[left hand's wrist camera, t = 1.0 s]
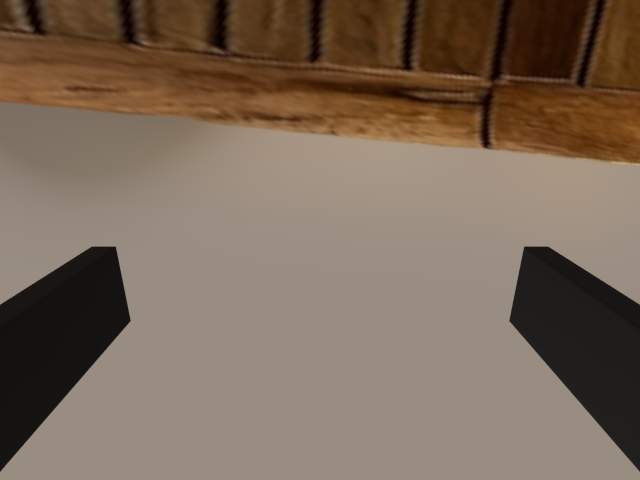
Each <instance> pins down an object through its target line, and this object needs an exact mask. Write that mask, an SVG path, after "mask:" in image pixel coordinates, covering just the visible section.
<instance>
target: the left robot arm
mask: <svg viewBox="0 0 640 480" xmlns="http://www.w3.org/2000/svg"><path fill="white" fill-rule="evenodd" d="M130 321H131V320H130V315H129V310H128V305H127V300H126V295H125V290H124V285H123V281H122V275H121V271H120V266H119V261H118V256H117V251H116V247H91V248H89V249H88V250H86V251H84V252H83V253H81V254H80V255H78V256H76V257H75V258H73V259H72V260H70V261H69V262H67V263H65V264H64V265H62V266H61V267H59V268H57V269H56V270H54V271H53V272H51V273H50V274H48V275H46V276H45V277H43V278H42V279H40V280H39V281H37V282H35V283H34V284H32V285H31V286H29V287H27V288H26V289H24V290H23V291H21V292H20V293H18V294H16V295H15V296H13V297H12V298H10V299H9V300H7V301H5V302H4V303H2V304H1V305H0V471H1V470H2V469H3V468H4V467H5V465H6V464H7V463H8V462H9V461H10V460H11V458H12V457H13V456H14V455H15V454H16V453H17V452H18V450H19V449H20V448H21V447H22V446H23V445H24V443H25V442H26V441H27V440H28V439H29V438H30V436H31V435H32V434H33V433H34V432H35V431H36V430H37V428H38V427H39V426H40V425H41V424H42V423H43V422H44V420H45V419H46V418H47V417H48V416H49V415H50V413H51V412H52V411H53V410H54V409H55V408H56V407H57V405H58V404H59V403H60V402H61V401H62V400H63V398H64V397H65V396H66V395H67V394H68V393H69V391H70V390H71V389H72V388H73V387H74V386H75V385H76V383H77V382H78V381H79V380H80V379H81V378H82V376H83V375H84V374H85V373H86V372H87V371H88V369H89V368H90V367H91V366H92V365H93V364H94V363H95V361H96V360H97V359H98V358H99V357H100V356H101V355H102V353H103V352H104V351H105V350H106V349H107V348H108V346H109V345H110V344H111V343H112V342H113V341H114V339H115V338H116V337H117V336H118V335H119V334H120V333H121V331H122V330H123V329H124V328H125V327H126V326H127V324H128V323H129V322H130ZM509 321H510V322H511V323H512V324H513V326H514V327H515V328H516V329H517V330H518V331H519V333H520V334H521V335H522V336H523V337H524V338H525V339H526V341H527V342H528V343H529V344H530V345H531V346H532V348H533V349H534V350H535V351H536V352H537V353H538V354H539V356H540V357H541V358H542V359H543V360H544V361H545V363H546V364H547V365H548V366H549V367H550V368H551V370H552V371H553V372H554V373H555V374H556V375H557V376H558V378H559V379H560V380H561V381H562V382H563V383H564V384H565V386H566V387H567V388H568V389H569V390H570V391H571V393H572V394H573V395H574V396H575V397H576V398H577V400H578V401H579V402H580V403H581V404H582V405H583V406H584V408H585V409H586V410H587V411H588V412H589V413H590V415H591V416H592V417H593V418H594V419H595V420H596V422H597V423H598V424H599V425H600V426H601V427H602V428H603V430H604V431H605V432H606V433H607V434H608V435H609V437H610V438H611V439H612V440H613V441H614V442H615V443H616V445H617V446H618V447H619V448H620V449H621V450H622V452H623V453H624V454H625V455H626V456H627V457H628V458H629V460H630V461H631V462H632V463H633V464H634V465H635V467H636V468H637V469H638V470H639V471H640V305H639V304H638V303H636V302H635V301H633V300H631V299H630V298H628V297H627V296H625V295H624V294H622V293H620V292H619V291H617V290H616V289H614V288H613V287H611V286H609V285H608V284H606V283H605V282H603V281H601V280H600V279H598V278H597V277H595V276H594V275H592V274H590V273H589V272H587V271H586V270H584V269H583V268H581V267H579V266H578V265H576V264H575V263H573V262H571V261H570V260H568V259H567V258H565V257H564V256H562V255H560V254H559V253H557V252H556V251H554V250H553V249H551V248H549V247H524V251H523V256H522V261H521V265H520V270H519V275H518V280H517V285H516V291H515V296H514V301H513V306H512V310H511V315H510V320H509Z"/></svg>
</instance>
